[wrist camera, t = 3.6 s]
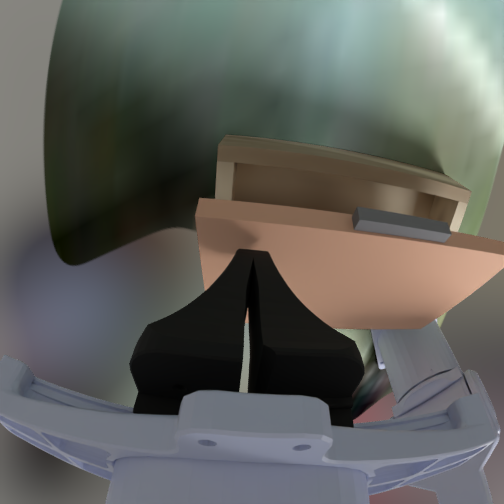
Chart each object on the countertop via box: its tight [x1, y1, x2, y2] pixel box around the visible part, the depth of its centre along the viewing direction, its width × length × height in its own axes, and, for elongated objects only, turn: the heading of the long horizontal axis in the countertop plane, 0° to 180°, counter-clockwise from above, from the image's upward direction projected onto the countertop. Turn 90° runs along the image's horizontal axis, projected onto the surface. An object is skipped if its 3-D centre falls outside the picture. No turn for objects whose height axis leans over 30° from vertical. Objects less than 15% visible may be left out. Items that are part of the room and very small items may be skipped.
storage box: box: [215, 135, 471, 232], centre depth 21 cm, size 12×18×4 cm, turn 85°
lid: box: [195, 198, 504, 329], centre depth 17 cm, size 13×18×1 cm
